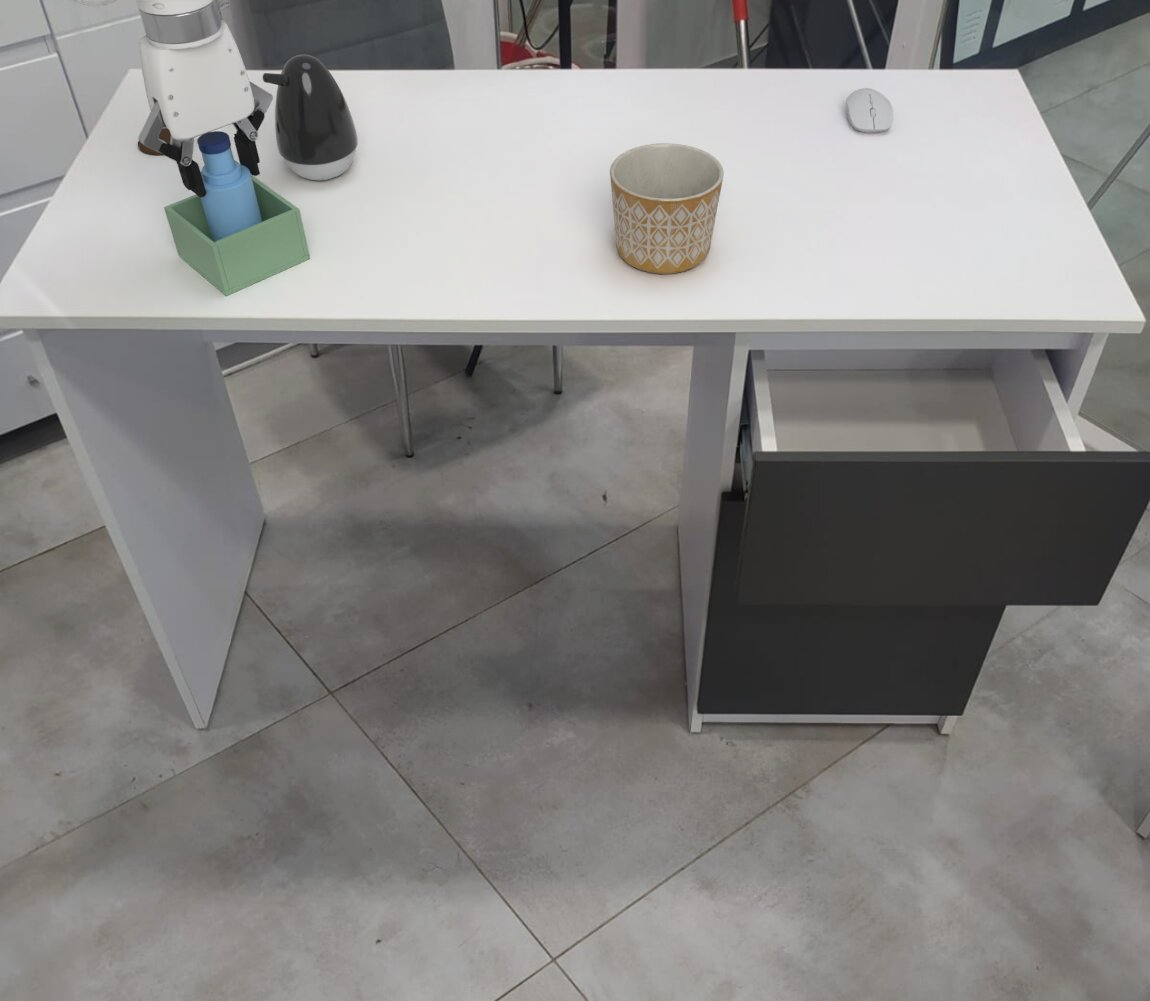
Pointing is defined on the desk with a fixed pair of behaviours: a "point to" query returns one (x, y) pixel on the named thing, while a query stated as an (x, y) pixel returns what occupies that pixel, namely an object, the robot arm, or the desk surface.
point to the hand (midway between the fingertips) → (224, 180)
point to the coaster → (163, 135)
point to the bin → (240, 241)
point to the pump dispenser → (312, 120)
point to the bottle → (226, 188)
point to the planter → (665, 206)
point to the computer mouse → (869, 111)
